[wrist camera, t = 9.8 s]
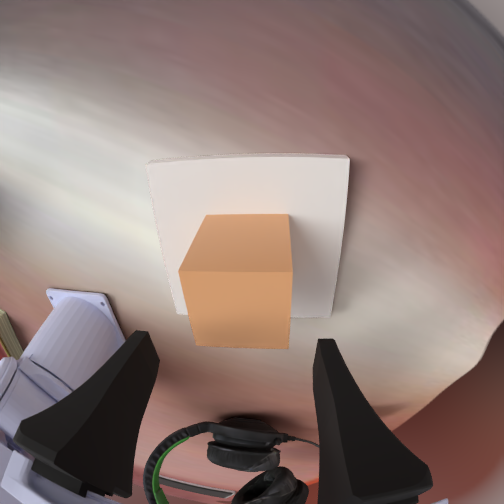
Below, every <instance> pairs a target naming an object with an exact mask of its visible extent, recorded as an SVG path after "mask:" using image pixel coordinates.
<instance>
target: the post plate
mask: <svg viewBox="0 0 504 504" xmlns="http://www.w3.org/2000/svg"><path fill="white" fill-rule="evenodd" d="M349 165H350V159H349V158H348V157H347V156H346V155H335V154H306V153H253V154H224V155H206V156H191V157H179V158H168V159H158V160H151V161H149V162H148V163H146V164H145V166H146V172H147V178H148V184H149V190H150V196H151V201H152V207H153V212H154V217H155V222H156V227H157V232H158V237H159V242H160V246H161V251H162V255H163V259H164V264H165V268H166V272H167V276H168V280H169V284H170V288H171V292H172V296H173V300H174V304H175V307H176V311H177V314H185V315H188V312H187V307H186V303H185V299H184V295H183V291H182V286H181V282H180V277H179V273H178V270H179V268H180V266H181V264H182V262H183V260H184V258H185V256H186V254H187V252H188V250H189V248H190V246H191V244H192V242H193V240H194V238H195V236H196V234H197V232H198V230H199V228H200V226H201V224H202V222H203V220H204V218H205V216H206V215H218V214H288V217H289V228H290V241H291V254H292V267H293V280H292V300H291V318H323V317H331V311H332V306H333V300H334V294H335V288H336V282H337V275H338V269H339V262H340V254H341V247H342V239H343V231H344V222H345V212H346V202H347V191H348V179H349Z"/></svg>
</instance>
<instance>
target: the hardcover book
mask: <svg viewBox="0 0 504 504" xmlns="http://www.w3.org/2000/svg"><path fill="white" fill-rule="evenodd" d="M23 352H24V351H23V349H22V347H21V345H20V343H19V341H18V339H17V337H16V335H15V333H14V330H13V328H12V326H11V323H10V321H9V319H8V316H7V314H6V312H4V311H3V310H1V309H0V360H1V359H2V358H4V357H14V358H15V359H16V360H18V359H19V358H20V357H21V355H22V354H23Z"/></svg>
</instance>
